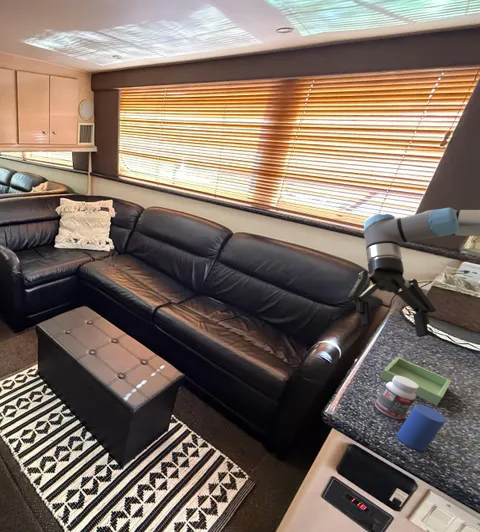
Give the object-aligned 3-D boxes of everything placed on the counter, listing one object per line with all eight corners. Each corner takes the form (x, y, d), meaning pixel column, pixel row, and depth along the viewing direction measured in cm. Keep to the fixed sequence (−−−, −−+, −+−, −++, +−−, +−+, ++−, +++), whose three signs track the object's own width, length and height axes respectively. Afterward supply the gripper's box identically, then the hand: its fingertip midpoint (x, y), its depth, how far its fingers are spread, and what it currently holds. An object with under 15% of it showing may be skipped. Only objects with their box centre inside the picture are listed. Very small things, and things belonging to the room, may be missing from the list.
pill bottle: (390, 420, 81) (409, 390, 77) (368, 403, 86) (385, 374, 82) (408, 419, 82) (427, 389, 78) (385, 402, 87) (402, 373, 83)
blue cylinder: (427, 445, 75) (447, 416, 71) (422, 454, 72) (443, 425, 69) (399, 429, 78) (417, 401, 75) (394, 438, 76) (412, 409, 72)
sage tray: (446, 388, 96) (451, 380, 95) (436, 405, 88) (442, 397, 87) (392, 363, 106) (397, 356, 104) (379, 377, 97) (383, 369, 96)
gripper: (421, 274, 96) (434, 343, 88) (330, 259, 101) (334, 323, 93) (445, 264, 89) (461, 337, 81) (346, 248, 94) (352, 316, 86)
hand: (393, 330), depth 87 cm, fingers open, 13 cm apart
